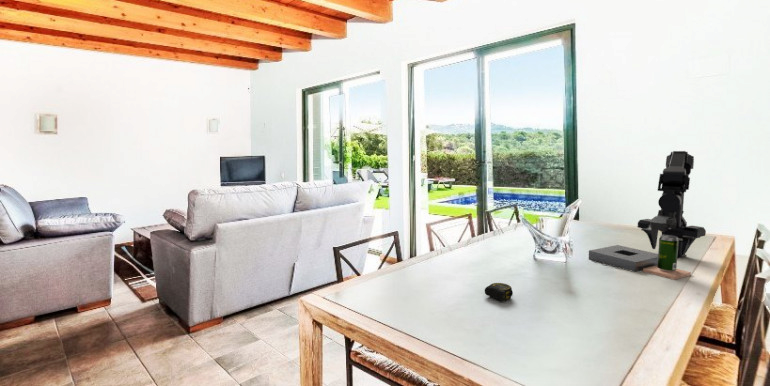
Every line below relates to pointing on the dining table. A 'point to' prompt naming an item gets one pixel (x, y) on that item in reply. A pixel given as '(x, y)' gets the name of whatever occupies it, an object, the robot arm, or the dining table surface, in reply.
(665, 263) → the beer can
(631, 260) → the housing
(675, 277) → the coaster
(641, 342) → the dining table surface
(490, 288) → the tape measure
